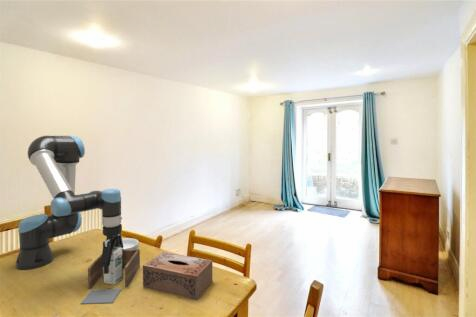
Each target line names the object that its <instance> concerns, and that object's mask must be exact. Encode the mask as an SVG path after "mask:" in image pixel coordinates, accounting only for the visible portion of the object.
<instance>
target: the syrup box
mask: <svg viewBox="0 0 476 317" xmlns="http://www.w3.org/2000/svg"><path fill="white" fill-rule="evenodd" d="M110 264H111V280H104V279H103V283H104V284H107V285H108V284H109V285H116V284H118V283H119V282H120V281H121V280H122V279H124V269H123V257H122V247H114V249H113V251H112V256H111V261H110ZM103 270H104V267H103Z"/></svg>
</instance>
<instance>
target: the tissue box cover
mask: <svg viewBox="0 0 476 317" xmlns="http://www.w3.org/2000/svg"><path fill="white" fill-rule="evenodd" d="M212 283H213V260H211V259H205V258H200V257H194V256H189V255H184V254H178V253H172V252H167V251H162V252H161V253H159V254H157V255H156V256H155V257H153V258H151V259H150V260H148V261H147V262H146V263H144V264H143V265H142V288H144V289H148V290H151V291H152V290H153V291H156V292H162V293H164V294H169V295H174V296H177V297H181V298H182V297H183V298H186V299H189V300H195V301H197V300H198V299H199V298H200V297H201V296H202V295H203V293H204V292H205V291H206V290H207V289H208V288H209V287H210V286H211V284H212ZM207 287H208V288H207Z"/></svg>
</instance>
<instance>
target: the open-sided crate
mask: <svg viewBox="0 0 476 317" xmlns="http://www.w3.org/2000/svg"><path fill="white" fill-rule="evenodd" d="M140 255H141V254H140V249H139V248H138V249H133V250H124V251H122V257H123V270H124V287H125V289H127V288H129V286H130V284H131V283H132V281H133V279H134V278H135V277H136V275H137V272H138V271H139V269H140V267H141V256H140ZM101 259H102V254H100V255H99V256H98V257H97V258H96V259H95V260H94V262H92V263H91V264H90V266H88V267H87V286H88V288H87V289H88V290H92V288H93V287H94V285H96V284H97V282H98V281H99V280H100V279H101V277H102V276H104V270H103V267H101Z"/></svg>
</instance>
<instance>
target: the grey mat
mask: <svg viewBox="0 0 476 317" xmlns="http://www.w3.org/2000/svg"><path fill="white" fill-rule="evenodd" d="M121 291H122V288H112V289H109V288H107V289H90V291H89V292H88V294H86V296H85V297H84V298H83V299H82V301H81V302H80V303H79V304H80V305H96V304H99V305H100V304H101V305H102V304H113V303H114V302H115V300H116V299H117V298H118V296H119V294H120V293H121Z"/></svg>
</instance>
